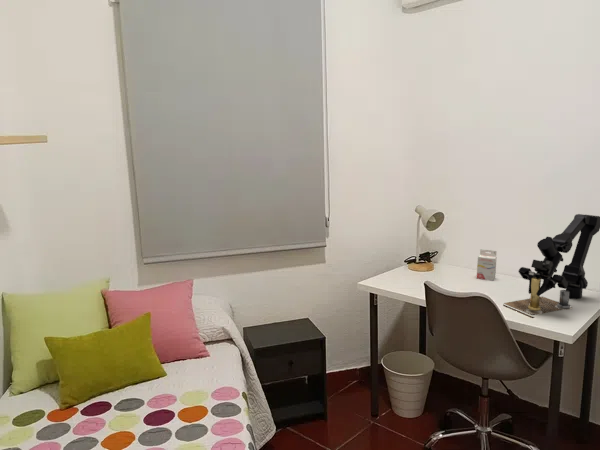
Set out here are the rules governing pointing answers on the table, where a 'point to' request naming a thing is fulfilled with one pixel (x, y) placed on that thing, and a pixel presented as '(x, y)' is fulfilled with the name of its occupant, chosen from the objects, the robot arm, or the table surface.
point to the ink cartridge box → (486, 265)
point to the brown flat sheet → (534, 311)
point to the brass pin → (535, 294)
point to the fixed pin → (564, 300)
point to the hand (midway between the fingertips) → (533, 294)
